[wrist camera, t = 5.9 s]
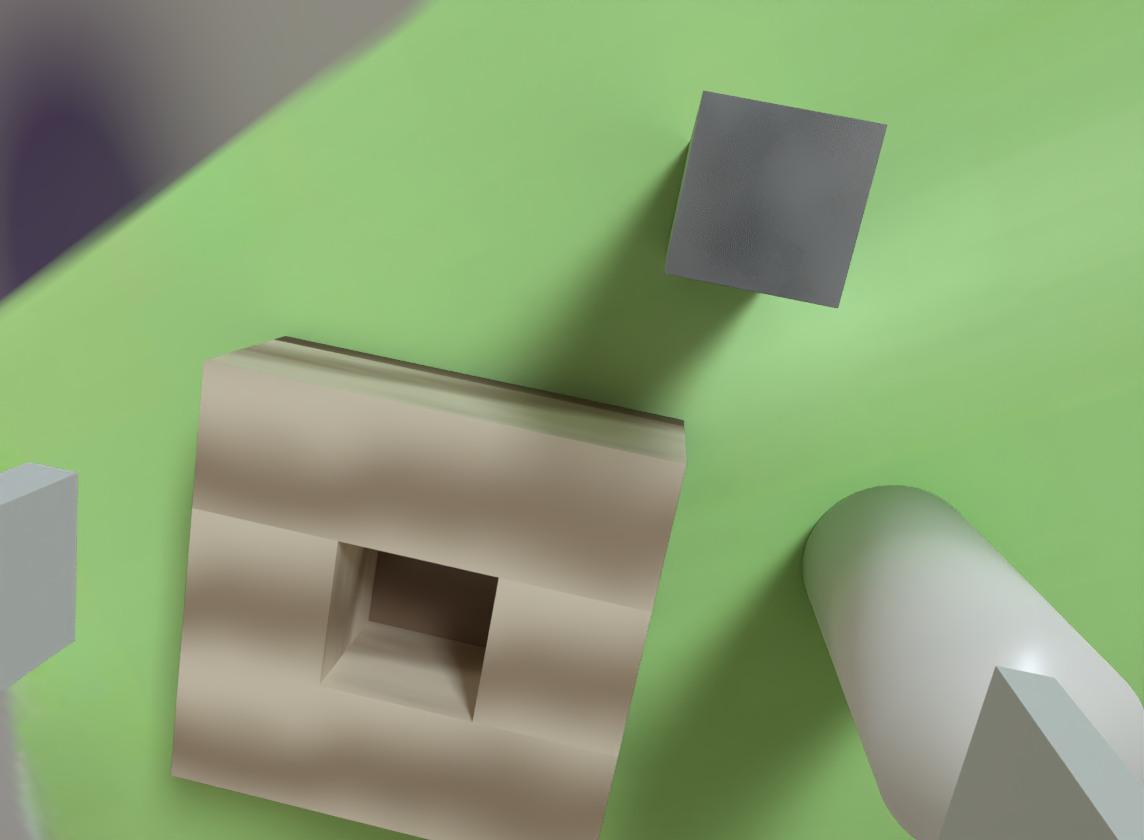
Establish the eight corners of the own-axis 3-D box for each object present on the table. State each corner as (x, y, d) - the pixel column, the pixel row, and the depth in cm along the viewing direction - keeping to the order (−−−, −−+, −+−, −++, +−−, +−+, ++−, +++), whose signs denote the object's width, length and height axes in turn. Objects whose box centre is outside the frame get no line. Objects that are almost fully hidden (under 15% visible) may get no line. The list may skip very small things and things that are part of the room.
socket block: (285, 336, 33) (204, 360, 27) (683, 420, 32) (686, 464, 26) (248, 688, 37) (170, 775, 31) (601, 773, 36) (589, 879, 30)
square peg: (690, 141, 30) (703, 90, 18) (801, 162, 30) (887, 124, 18) (665, 253, 31) (664, 273, 19) (773, 275, 31) (837, 308, 19)
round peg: (826, 468, 32) (916, 610, 20) (1001, 505, 32) (1193, 671, 20) (783, 623, 34) (843, 835, 22) (949, 660, 33) (1099, 896, 22)
